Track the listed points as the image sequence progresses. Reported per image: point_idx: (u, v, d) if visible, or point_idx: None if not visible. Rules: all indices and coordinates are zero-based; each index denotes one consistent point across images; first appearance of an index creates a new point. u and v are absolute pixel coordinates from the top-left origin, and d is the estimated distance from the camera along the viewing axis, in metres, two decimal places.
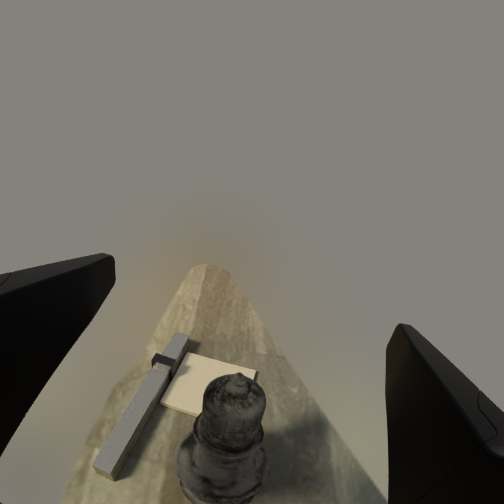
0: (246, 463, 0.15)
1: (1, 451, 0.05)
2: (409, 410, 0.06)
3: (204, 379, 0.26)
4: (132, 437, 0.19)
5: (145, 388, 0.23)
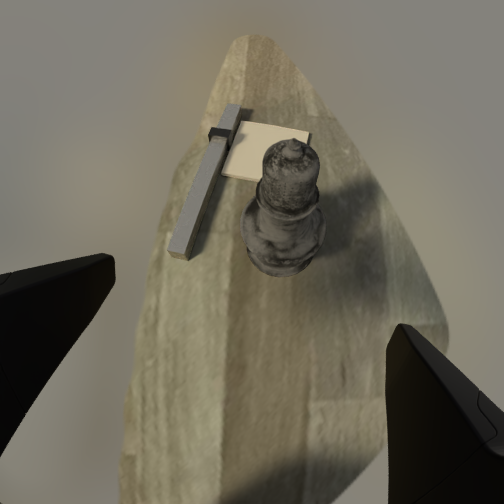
0: (305, 224, 0.19)
1: (1, 451, 0.05)
2: (409, 410, 0.06)
3: (260, 144, 0.28)
4: (200, 213, 0.25)
5: (206, 162, 0.26)
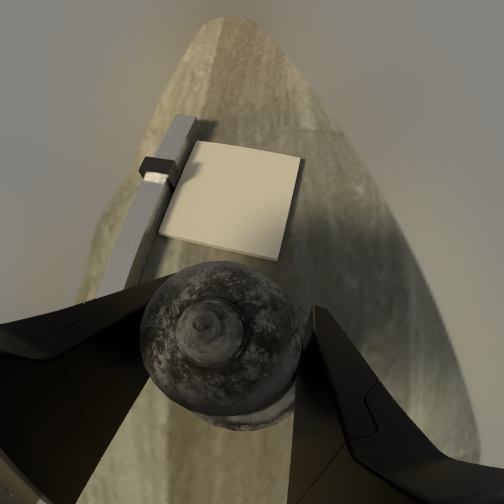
0: None
1: (75, 502, 0.05)
2: (306, 396, 0.06)
3: (222, 181, 0.18)
4: None
5: (132, 218, 0.16)
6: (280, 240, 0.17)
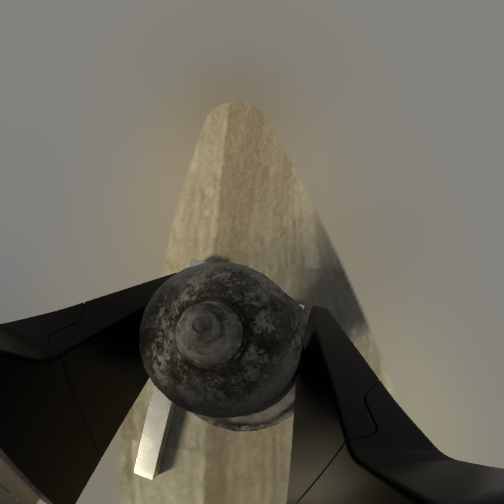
0: None
1: (74, 502, 0.05)
2: (306, 396, 0.06)
3: None
4: (165, 433, 0.18)
5: None
6: None
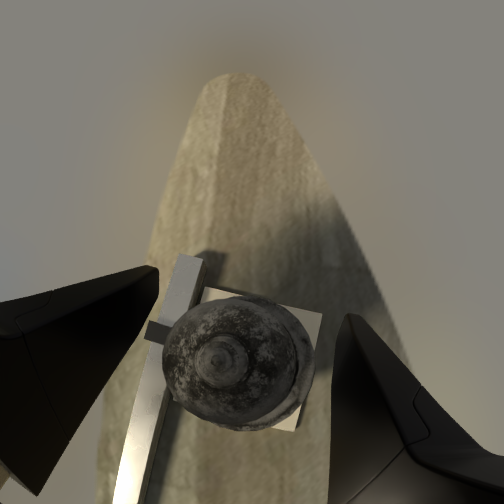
0: None
1: (43, 483, 0.05)
2: (347, 403, 0.06)
3: None
4: (146, 470, 0.13)
5: (145, 392, 0.15)
6: (297, 413, 0.15)
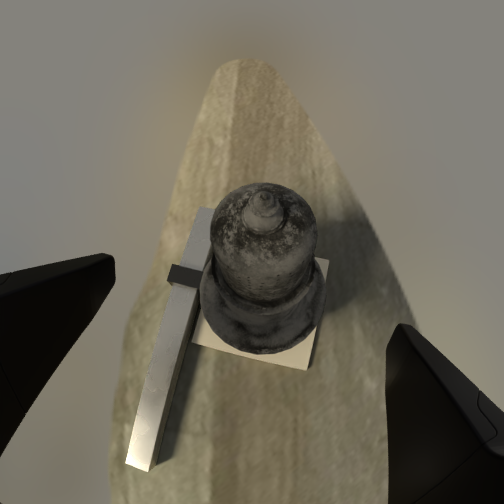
0: None
1: (1, 451, 0.05)
2: (409, 410, 0.06)
3: None
4: (163, 414, 0.15)
5: (166, 332, 0.17)
6: (309, 352, 0.17)
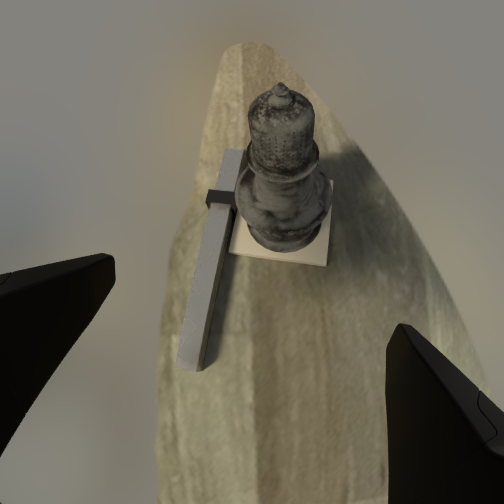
0: (306, 188, 0.17)
1: (1, 451, 0.05)
2: (409, 410, 0.06)
3: None
4: (208, 314, 0.20)
5: (207, 243, 0.21)
6: (326, 250, 0.21)
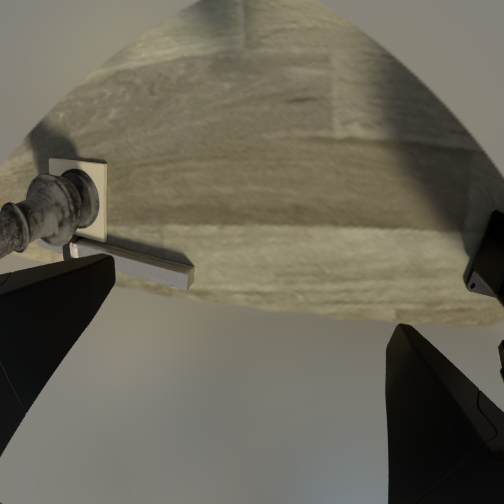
0: (37, 201, 0.18)
1: (1, 451, 0.05)
2: (409, 410, 0.06)
3: None
4: (146, 260, 0.24)
5: None
6: (94, 164, 0.22)
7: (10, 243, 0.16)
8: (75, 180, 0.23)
